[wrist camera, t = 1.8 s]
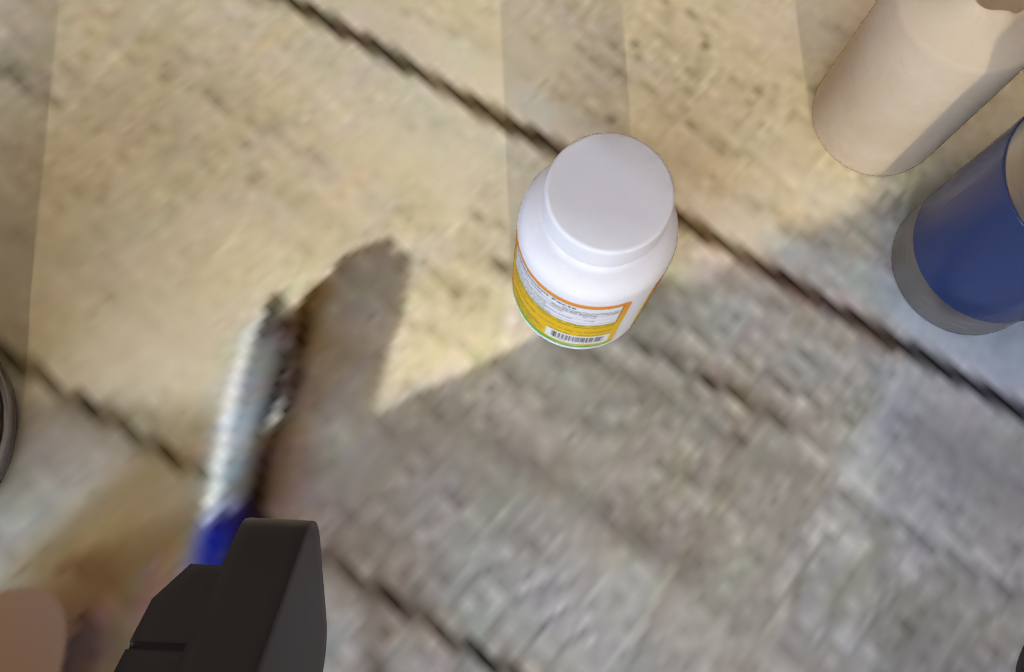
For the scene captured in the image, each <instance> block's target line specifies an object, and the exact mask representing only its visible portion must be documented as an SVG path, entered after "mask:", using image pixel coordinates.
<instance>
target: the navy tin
mask: <svg viewBox="0 0 1024 672" xmlns="http://www.w3.org/2000/svg"><path fill="white" fill-rule="evenodd" d="M892 268H893V272H894V277H895V280H896V282H897V285H898V287H899V289H900V291H901V293H902V295H903V296H904V298H905V299H906V301H907V302H908V303H909V304H910V305H911V307H912V308H913V309H914V310H915V311H916V312H917V313H918V314H919V315H921V316H922V317H923V318H924V319H926V320H927V321H929V322H930V323H932V324H934V325H936V326H937V327H940V328H942V329H944V330H947V331H950V332H954V333H957V334H964V335H983V334H989V333H993V332H996V331H999V330H1001V329H1004V328H1006V327H1008V326H1010V325H1012V324H1014V323H1016V322H1019V321H1022V320H1024V116H1023V117H1022V118H1021V119H1020V120H1019V121H1018V122H1016V123H1015V124H1014V125H1013V126H1012V127H1010V128H1009V129H1008V130H1007V131H1006V132H1004V133H1003V134H1002V135H1001V136H1000V137H998V138H997V139H996V140H995V141H994V142H992V143H991V144H990V145H989V146H988V147H987V148H985V149H984V150H983V151H982V152H981V153H979V154H978V155H977V156H976V157H975V158H973V159H972V160H971V161H970V162H969V163H967V164H966V165H965V166H964V167H963V168H961V169H960V170H959V171H958V172H957V173H955V174H954V175H953V176H952V177H951V178H950V179H948V180H947V181H946V182H945V183H944V184H942V185H941V186H940V187H939V188H938V189H936V190H935V191H934V192H933V193H932V194H931V195H930V196H929V197H928V198H927V199H926V201H924V202H923V203H922V204H921V205H920V206H918V207H917V208H916V209H915V210H914V211H912V212H911V213H910V214H909V215H908V216H907V217H906V218H905V220H904V221H903V222H902V224H901V225H900V227H899V229H898V231H897V233H896V236H895V239H894V242H893V247H892Z"/></svg>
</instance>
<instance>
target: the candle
mask: <svg viewBox="0 0 1024 672" xmlns="http://www.w3.org/2000/svg"><path fill="white" fill-rule="evenodd" d="M1023 69H1024V0H877V2H876V3H875V5H874V6H873V8H872V9H871V11H870V12H869V13H868V15H867V16H866V18H865V19H864V21H863V22H862V23H861V25H860V26H859V28H858V29H857V31H856V32H855V34H854V35H853V36H852V38H851V39H850V41H849V42H848V44H847V45H846V47H845V48H844V49H843V51H842V52H841V54H840V55H839V57H838V58H837V60H836V61H835V62H834V64H833V65H832V67H831V68H830V70H829V71H828V73H827V74H826V76H825V77H824V79H823V80H822V82H821V83H820V85H819V87H818V90H817V92H816V95H815V98H814V102H813V112H812V116H813V123H814V127H815V130H816V133H817V135H818V138H819V139H820V141H821V143H822V144H823V146H824V147H825V148H826V150H827V151H828V152H829V153H830V154H831V155H832V156H833V157H834V158H835V159H836V160H838V161H839V162H840V163H842V164H843V165H845V166H847V167H849V168H851V169H853V170H855V171H858V172H861V173H864V174H869V175H876V176H888V175H895V174H898V173H902V172H905V171H907V170H909V169H911V168H913V167H915V166H916V165H918V164H920V163H921V162H922V161H923V160H925V159H926V158H927V157H928V156H929V155H930V154H932V153H933V152H934V151H935V150H936V149H937V148H938V147H939V146H941V145H942V144H943V143H944V142H945V141H946V140H947V139H948V138H949V137H950V136H951V135H952V134H953V133H955V132H956V131H957V130H958V129H959V128H960V127H961V126H962V125H963V124H964V123H965V122H966V121H968V120H969V119H970V118H971V117H972V116H973V115H974V114H975V113H976V112H977V111H978V110H979V109H981V108H982V107H983V106H984V105H985V104H986V103H987V102H988V101H989V100H990V99H991V98H992V97H993V96H995V95H996V94H997V93H998V92H999V91H1000V90H1001V89H1002V88H1003V87H1004V86H1005V85H1006V84H1008V83H1009V82H1010V81H1011V80H1012V79H1013V78H1014V77H1015V76H1016V75H1017V74H1018V73H1019V72H1020V71H1022V70H1023Z"/></svg>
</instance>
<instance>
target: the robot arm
mask: <svg viewBox="0 0 1024 672" xmlns="http://www.w3.org/2000/svg"><path fill="white" fill-rule="evenodd" d="M16 428H17V412H16V402H15V398H14V393H13V389H12V386H11V383H10V380H9V378H8V376H7V374H6V372H5V370H4V368H3V366H2V365H1V363H0V482H1V480H2V478H3V476H4V474H5V472H6V469H7V467H8V464H9V462H10V459H11V455H12V452H13V448H14V443H15V438H16ZM326 640H327V621H326V608H325V596H324V584H323V572H322V560H321V548H320V536H319V530H318V526H317V523H316V522H315V521H306V520H286V519H265V518H246V519H245V520H244V521H243V522H242V523H241V525H240V527H239V529H238V531H237V533H236V535H235V537H234V540H233V542H232V544H231V546H230V549H229V551H228V553H227V555H226V557H225V560H224V562H223V564H222V566H221V565H201V564H190V565H189V566H188V567H187V568H186V569H184V570H183V571H182V572H181V573H180V574H179V575H178V576H177V577H176V578H175V579H173V580H172V581H171V582H170V583H169V584H168V585H167V586H166V587H165V588H163V589H162V590H161V591H160V592H159V593H158V594H157V595H156V596H155V597H154V598H152V600H151V602H150V604H149V606H148V608H147V610H146V612H145V613H144V615H143V617H142V619H141V621H140V623H139V625H138V627H137V629H136V631H135V632H134V634H133V636H132V638H131V640H130V647H129V649H126V650H125V652H124V653H123V655H122V657H121V659H120V661H119V663H118V665H117V667H116V669H115V671H114V672H323V667H324V661H325V652H326ZM1016 672H1024V646H1023V649H1022V651H1021V653H1020V656H1019V658H1018V662H1017V666H1016Z"/></svg>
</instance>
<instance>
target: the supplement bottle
mask: <svg viewBox="0 0 1024 672" xmlns="http://www.w3.org/2000/svg"><path fill="white" fill-rule="evenodd" d="M674 201H675V190H674V184H673V180H672V177H671V174H670V171H669V170H668V168H667V166H666V164H665V162H664V161H663V159H662V158H661V157H660V156H659V155H658V154H657V153H656V152H655V151H654V150H653V149H652V148H651V147H650V146H648V145H647V144H645V143H643V142H642V141H640V140H638V139H636V138H633V137H631V136H627V135H623V134H618V133H597V134H592V135H588V136H585V137H582V138H580V139H578V140H576V141H574V142H572V143H571V144H570V145H568V146H567V147H566V148H564V149H563V150H562V151H561V152H560V153H559V154H558V156H557V157H556V158H555V160H554V161H553V163H552V164H550V165H549V166H548V167H547V168H545V169H544V170H543V171H542V172H541V173H540V174H539V175H538V176H537V177H536V178H535V179H534V180H533V182H532V183H531V185H530V186H529V188H528V189H527V191H526V193H525V195H524V197H523V200H522V203H521V206H520V210H519V215H518V222H517V233H516V243H515V253H514V265H513V277H512V281H513V293H514V298H515V302H516V305H517V307H518V310H519V311H520V313H521V315H522V317H523V319H524V320H525V321H526V323H527V324H528V325H529V326H530V328H531V329H532V330H534V331H535V332H536V333H537V334H538V335H540V336H541V337H542V338H544V339H546V340H548V341H549V342H551V343H554V344H556V345H559V346H562V347H566V348H572V349H590V348H595V347H599V346H603V345H606V344H608V343H610V342H612V341H614V340H616V339H617V338H619V337H620V336H621V335H623V334H624V333H625V332H626V331H627V330H628V329H629V328H630V327H631V326H632V324H633V323H634V322H635V321H636V319H637V318H638V316H639V315H640V313H641V311H642V309H643V308H644V306H645V304H646V303H647V301H648V299H649V298H650V296H651V294H652V293H653V291H654V290H655V288H656V286H657V285H658V283H659V281H660V280H661V278H662V277H663V275H664V273H665V272H666V270H667V268H668V266H669V264H670V262H671V259H672V257H673V255H674V251H675V248H676V244H677V239H678V219H677V212H676V209H675V206H674Z"/></svg>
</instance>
